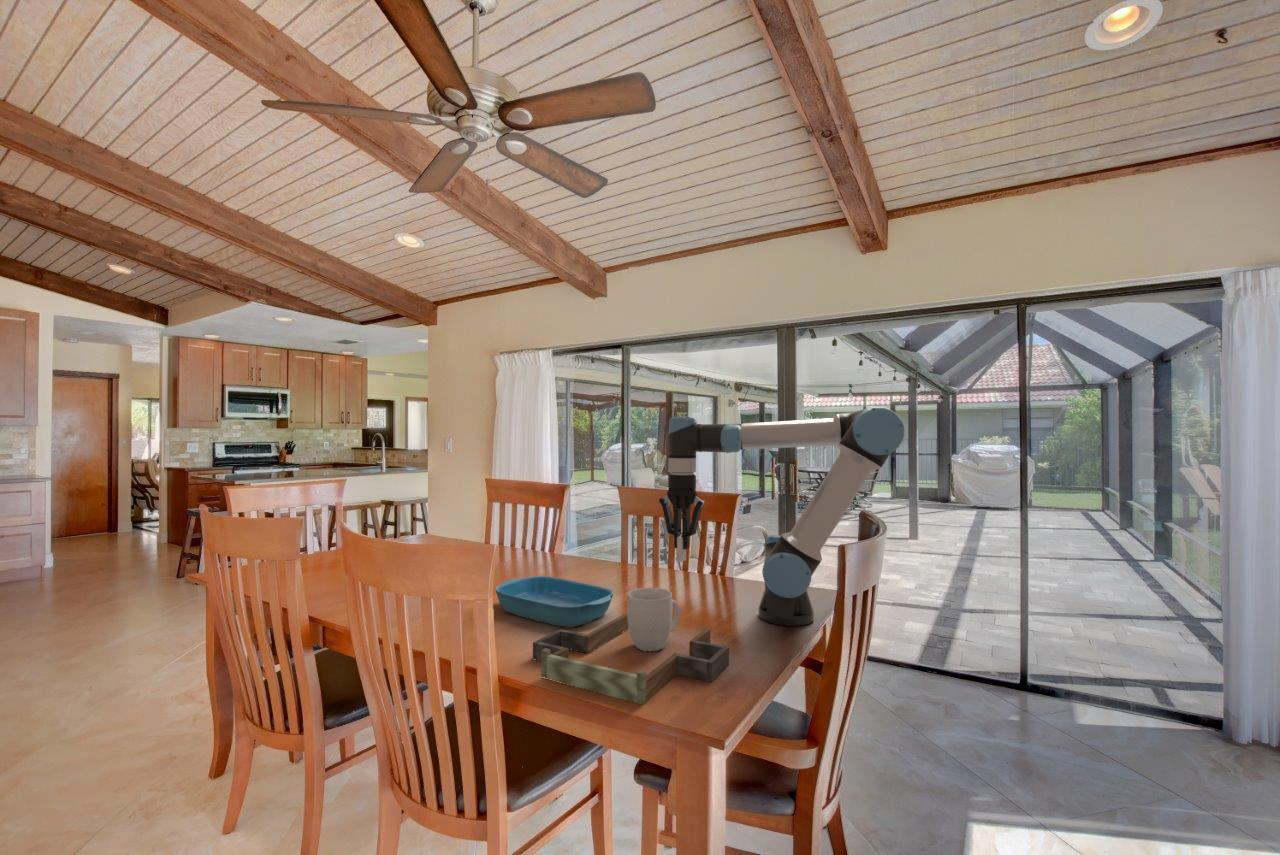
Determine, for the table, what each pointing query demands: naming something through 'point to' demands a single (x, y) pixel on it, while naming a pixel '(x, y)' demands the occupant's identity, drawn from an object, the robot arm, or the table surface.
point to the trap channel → (619, 684)
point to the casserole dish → (554, 600)
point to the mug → (651, 617)
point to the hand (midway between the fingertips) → (681, 560)
